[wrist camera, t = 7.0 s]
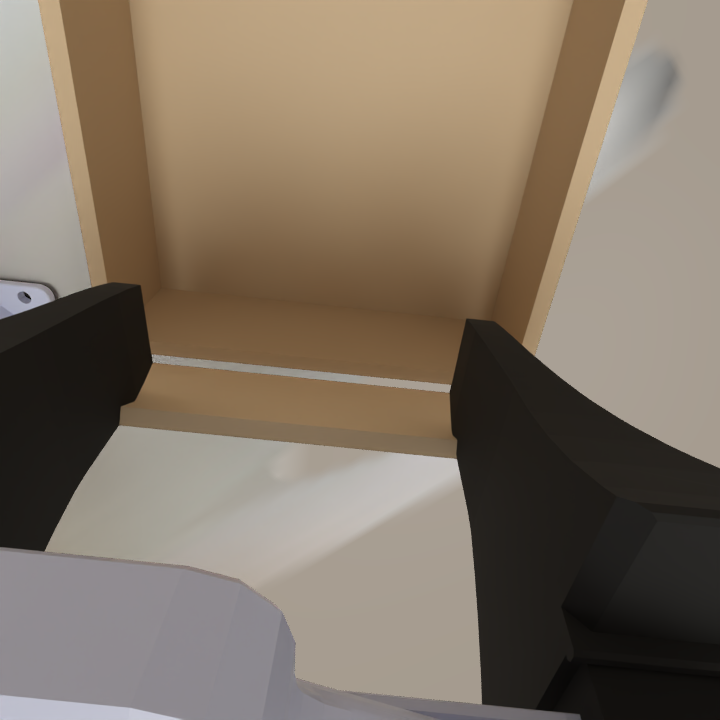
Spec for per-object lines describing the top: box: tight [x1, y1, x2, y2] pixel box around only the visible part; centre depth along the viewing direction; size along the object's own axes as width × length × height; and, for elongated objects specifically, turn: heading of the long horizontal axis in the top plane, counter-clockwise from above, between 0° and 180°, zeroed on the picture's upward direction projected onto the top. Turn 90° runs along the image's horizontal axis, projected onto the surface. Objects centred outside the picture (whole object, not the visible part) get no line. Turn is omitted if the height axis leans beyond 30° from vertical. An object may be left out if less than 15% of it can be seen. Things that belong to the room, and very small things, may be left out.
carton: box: [38, 0, 648, 385], centre depth 15 cm, size 14×16×4 cm
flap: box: [119, 363, 457, 459], centre depth 14 cm, size 13×6×1 cm
